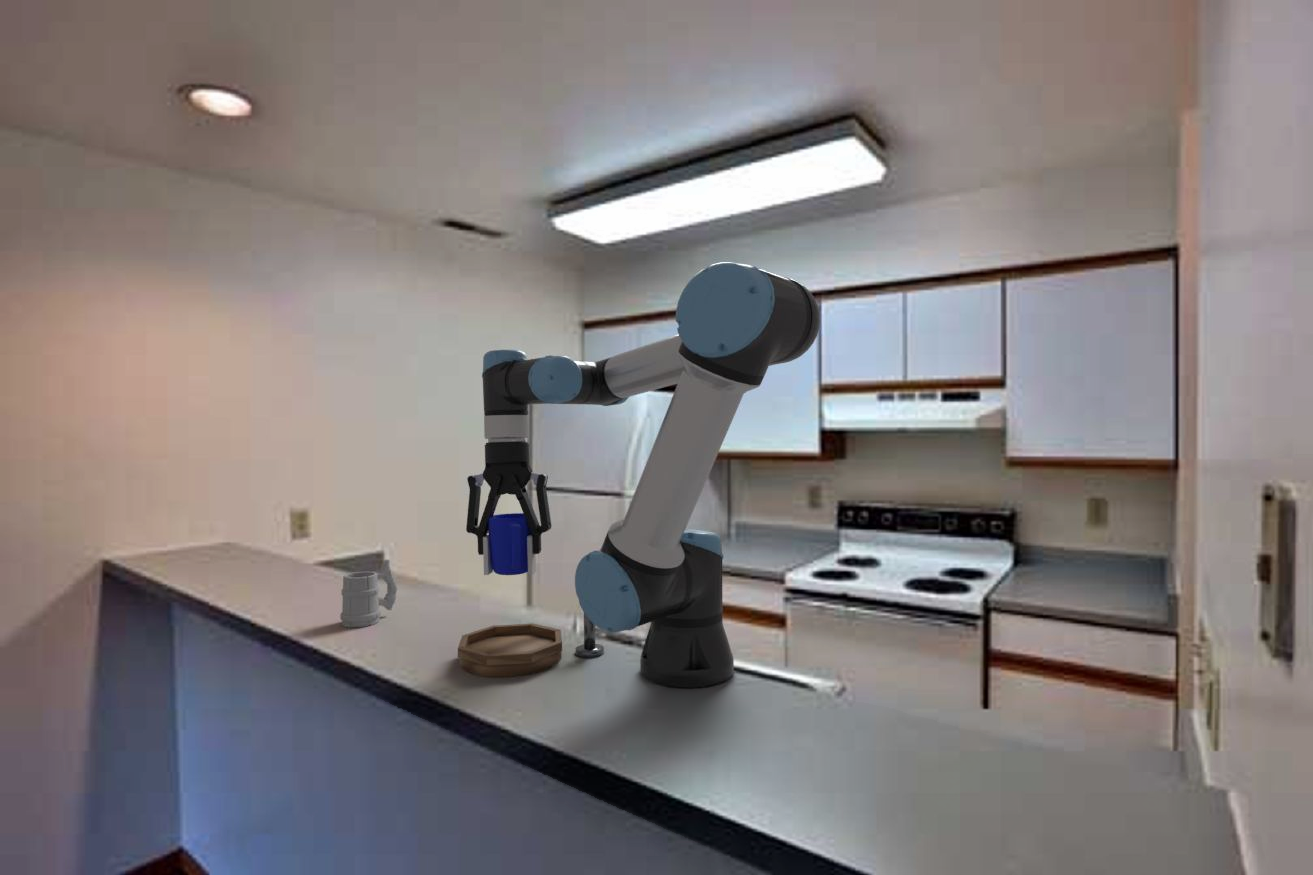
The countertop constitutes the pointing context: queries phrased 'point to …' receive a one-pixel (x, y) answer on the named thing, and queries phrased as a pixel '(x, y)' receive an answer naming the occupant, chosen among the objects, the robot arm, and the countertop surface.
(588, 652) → the stand rod
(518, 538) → the mug
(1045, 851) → the countertop surface
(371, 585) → the mug
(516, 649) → the octagonal wooden tray
